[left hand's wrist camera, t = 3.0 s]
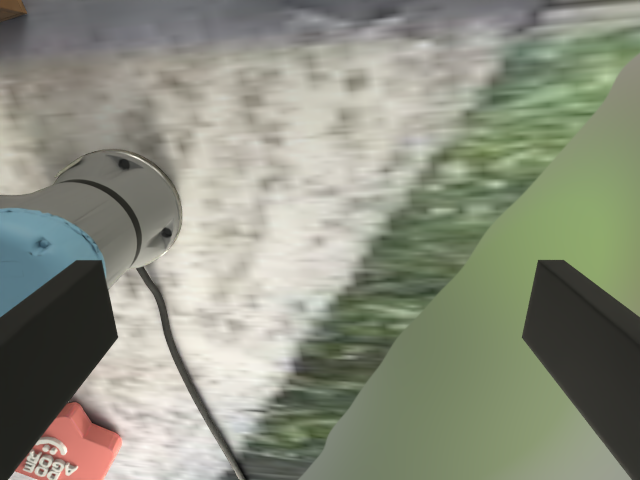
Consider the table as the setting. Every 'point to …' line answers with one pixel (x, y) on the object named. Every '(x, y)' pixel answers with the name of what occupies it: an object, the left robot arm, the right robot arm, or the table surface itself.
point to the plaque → (72, 449)
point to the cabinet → (11, 9)
